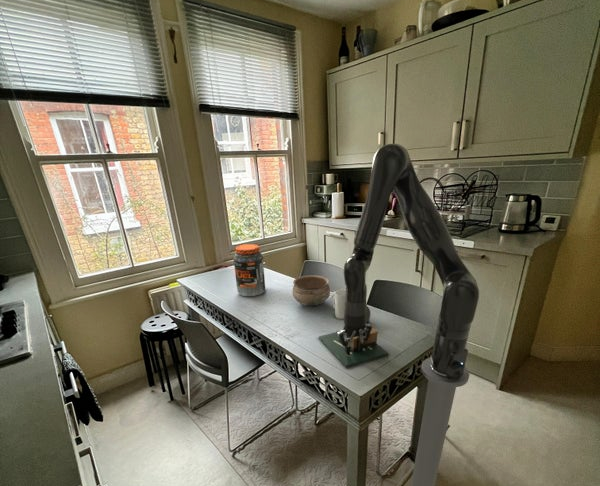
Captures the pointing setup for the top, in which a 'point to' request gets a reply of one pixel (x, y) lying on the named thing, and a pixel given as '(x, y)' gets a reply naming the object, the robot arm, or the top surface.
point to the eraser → (371, 341)
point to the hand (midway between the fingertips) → (353, 352)
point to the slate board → (354, 357)
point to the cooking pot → (311, 290)
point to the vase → (367, 314)
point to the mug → (339, 303)
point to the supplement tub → (249, 270)
